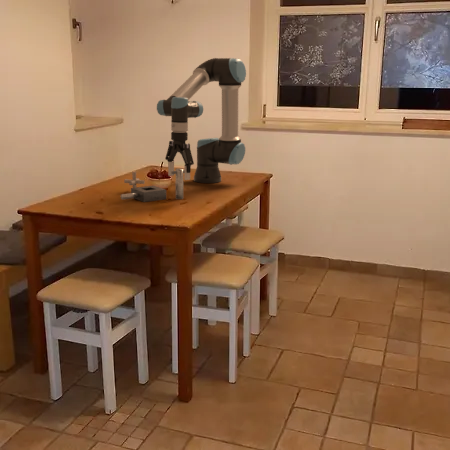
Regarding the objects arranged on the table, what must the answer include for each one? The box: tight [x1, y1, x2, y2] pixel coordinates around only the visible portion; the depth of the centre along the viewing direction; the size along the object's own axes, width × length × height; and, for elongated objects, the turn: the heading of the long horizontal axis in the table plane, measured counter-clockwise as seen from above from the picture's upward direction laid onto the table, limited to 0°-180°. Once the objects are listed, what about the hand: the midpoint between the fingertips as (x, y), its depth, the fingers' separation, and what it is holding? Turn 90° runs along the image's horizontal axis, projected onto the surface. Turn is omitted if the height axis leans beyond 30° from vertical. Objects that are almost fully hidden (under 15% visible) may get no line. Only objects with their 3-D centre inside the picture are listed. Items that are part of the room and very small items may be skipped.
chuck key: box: [172, 167, 184, 200], centre depth 278 cm, size 8×4×14 cm, turn 128°
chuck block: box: [120, 185, 167, 203], centre depth 275 cm, size 20×12×4 cm, turn 128°
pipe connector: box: [123, 171, 146, 188], centre depth 291 cm, size 10×10×10 cm
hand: (179, 177), depth 277 cm, fingers open, 13 cm apart
